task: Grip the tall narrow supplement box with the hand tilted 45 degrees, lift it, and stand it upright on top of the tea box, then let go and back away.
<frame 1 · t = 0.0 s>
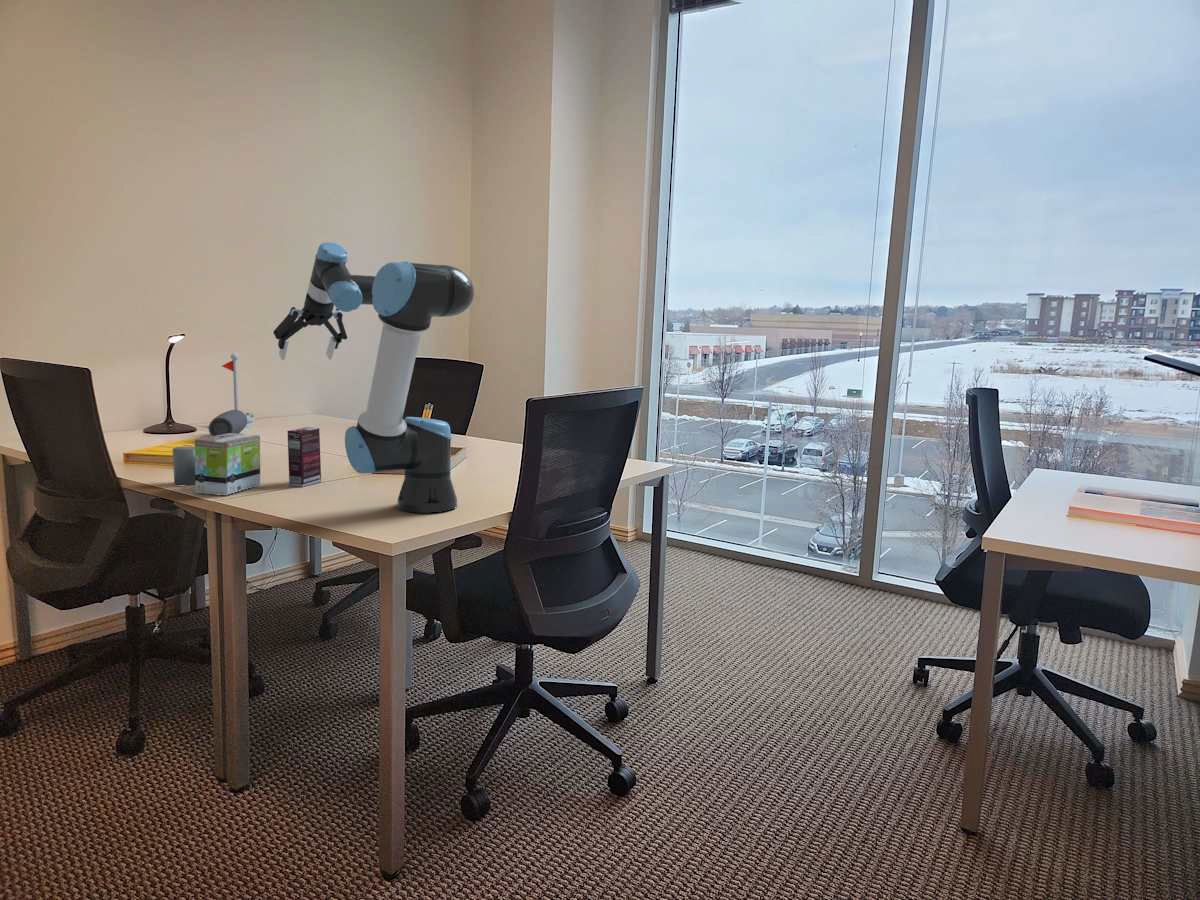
hand: (305, 356, 238), 36 cm above the table, tool tilted 35°, fingers open, 13 cm apart
tea box: (229, 490, 228), on the table
upright grey block: (188, 483, 233), on the table
bluetooth speaker: (229, 439, 310), on the table
flag stand: (237, 427, 338), on the table
supplement box: (305, 484, 238), on the table
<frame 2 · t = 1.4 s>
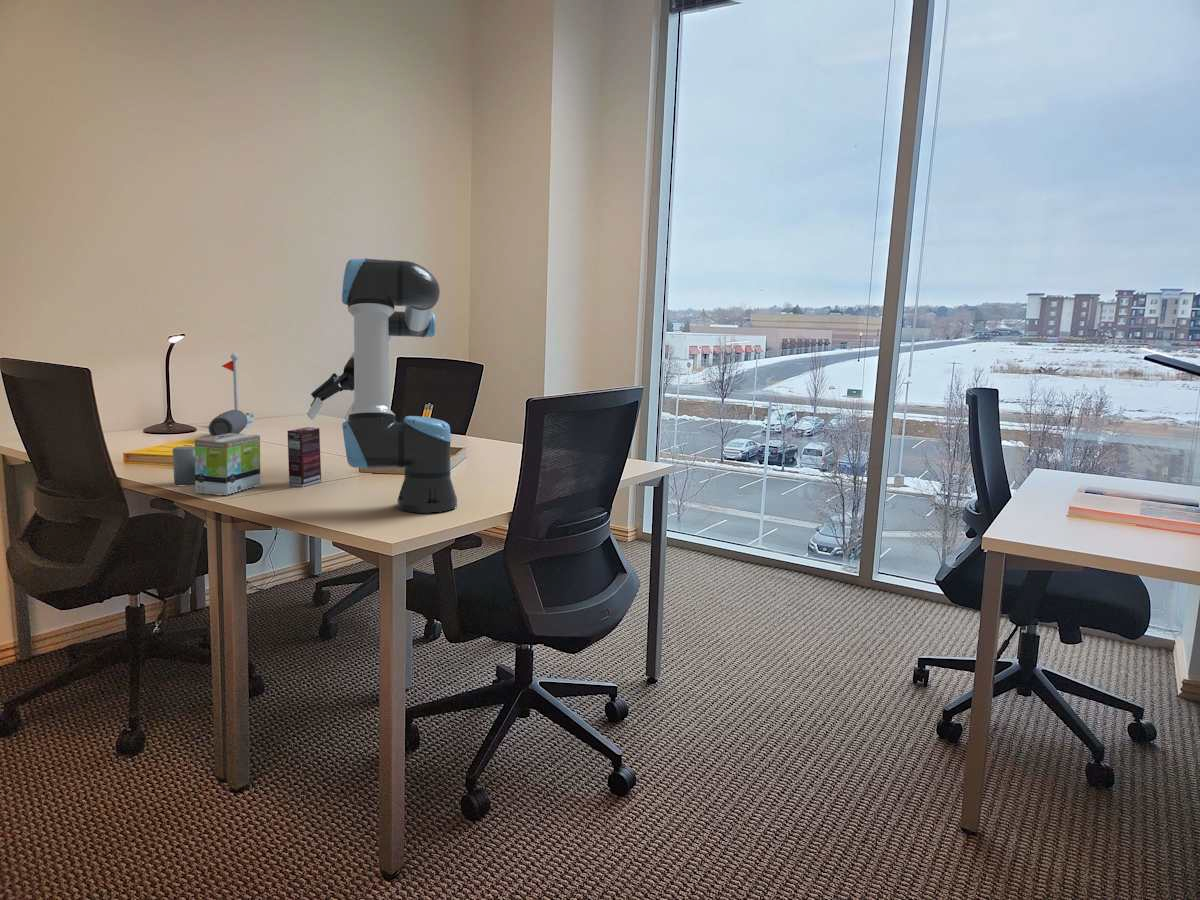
hand: (328, 419, 245), 18 cm above the table, tool tilted 45°, fingers open, 13 cm apart
nothing on the table moved.
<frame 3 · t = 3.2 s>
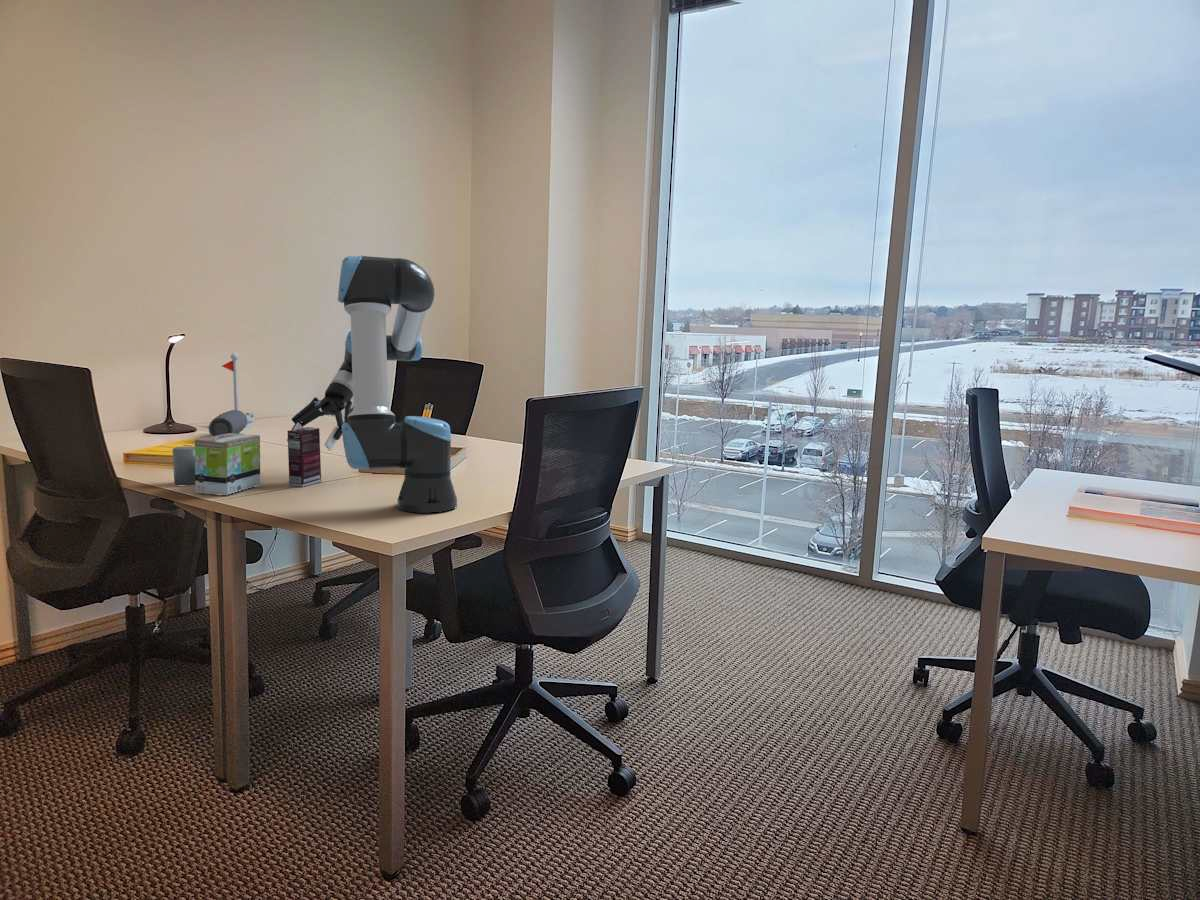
hand: (308, 445, 239), 11 cm above the table, tool tilted 45°, fingers open, 13 cm apart
nothing on the table moved.
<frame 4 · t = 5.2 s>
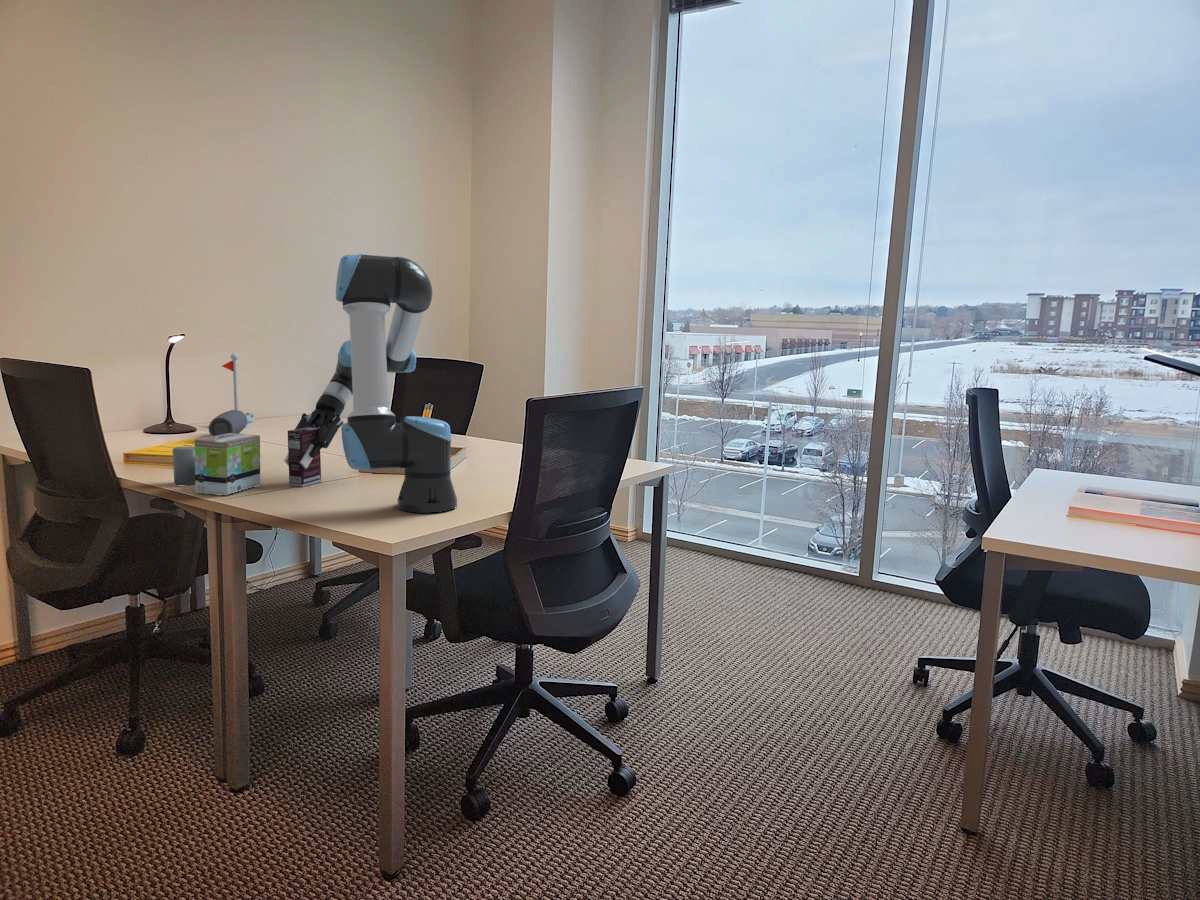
hand: (295, 464, 234), 6 cm above the table, tool tilted 45°, fingers closed on supplement box, 5 cm apart
supplement box: (305, 484, 238), on the table, touching gripper
everything else where it was.
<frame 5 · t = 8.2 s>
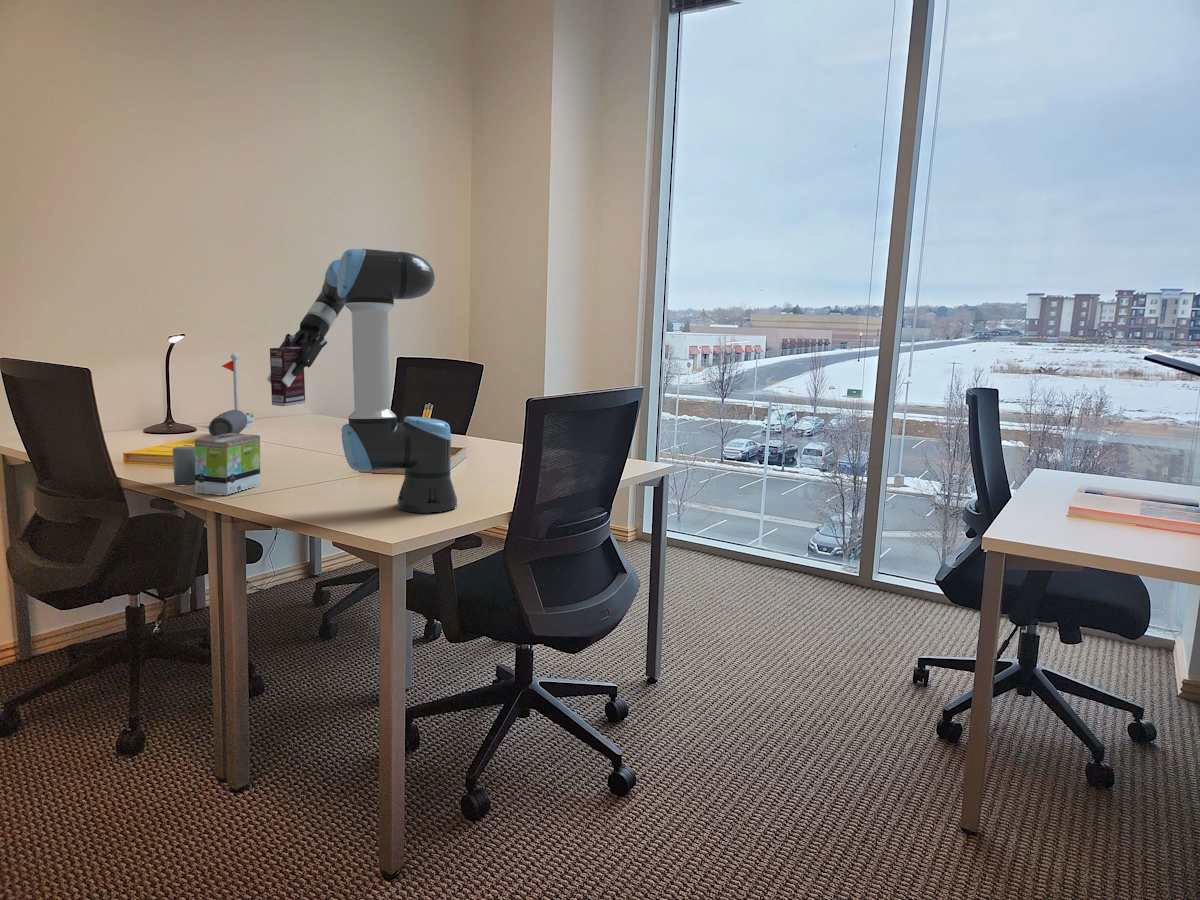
hand: (277, 382, 229), 29 cm above the table, tool tilted 45°, fingers closed on supplement box, 5 cm apart
supplement box: (288, 405, 234), point 23 cm above the table, touching gripper
everything else where it was.
when the fingers open (23 cm above the table, at t = 11.3 s): supplement box drops 2 cm, resting on tea box.
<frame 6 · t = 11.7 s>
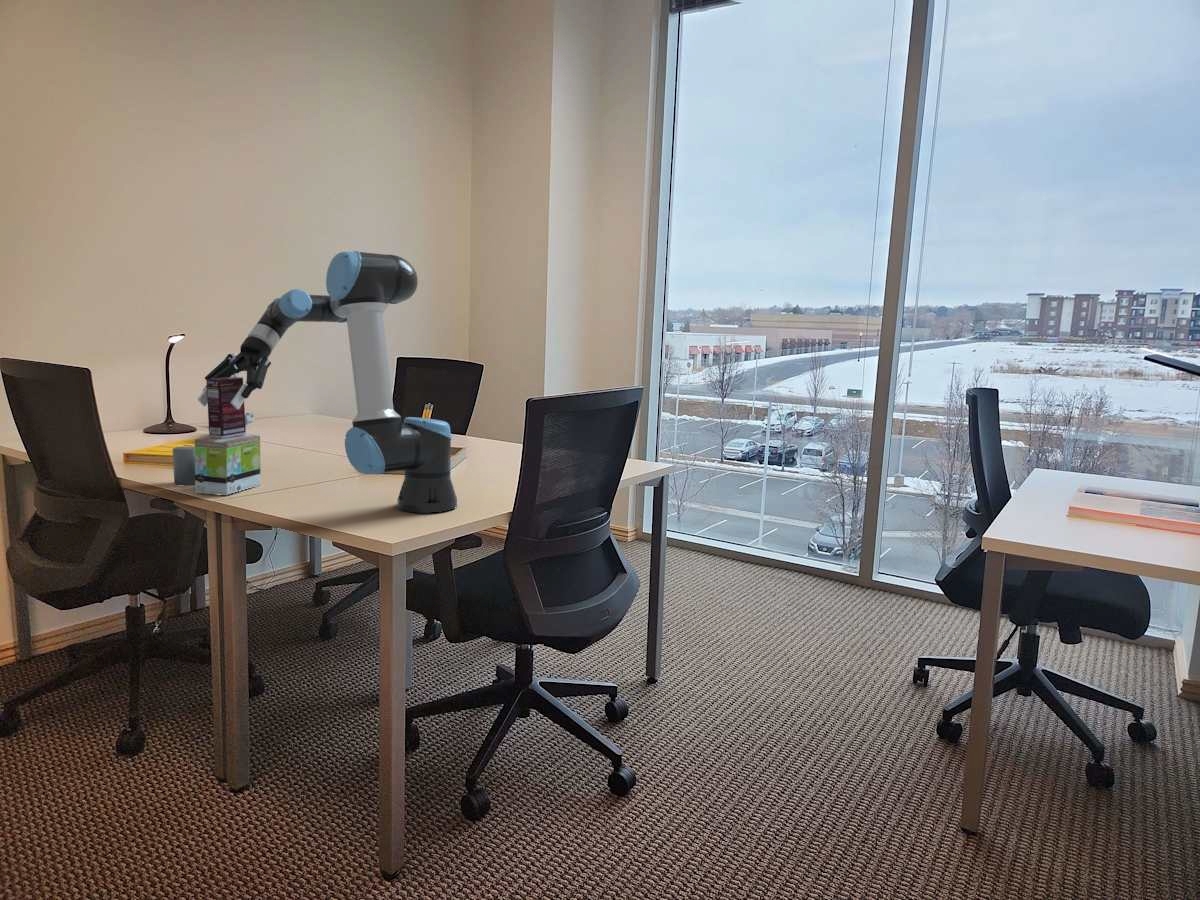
hand: (217, 404, 221), 24 cm above the table, tool tilted 45°, fingers open, 11 cm apart
tea box: (229, 490, 228), on the table, touching supplement box
supplement box: (227, 437, 225), point 14 cm above the table, touching tea box
everything else where it was.
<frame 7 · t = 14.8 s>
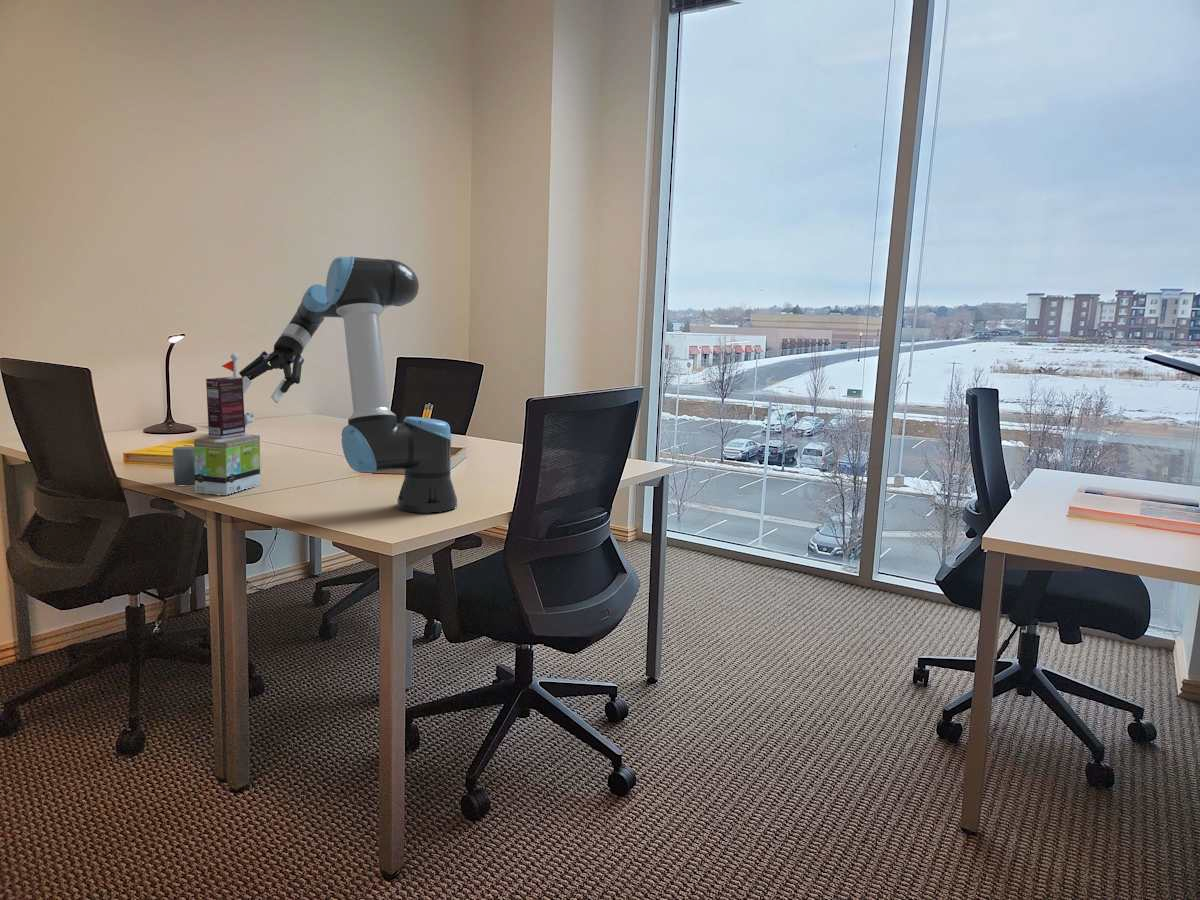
hand: (255, 398, 234), 24 cm above the table, tool tilted 45°, fingers open, 13 cm apart
nothing on the table moved.
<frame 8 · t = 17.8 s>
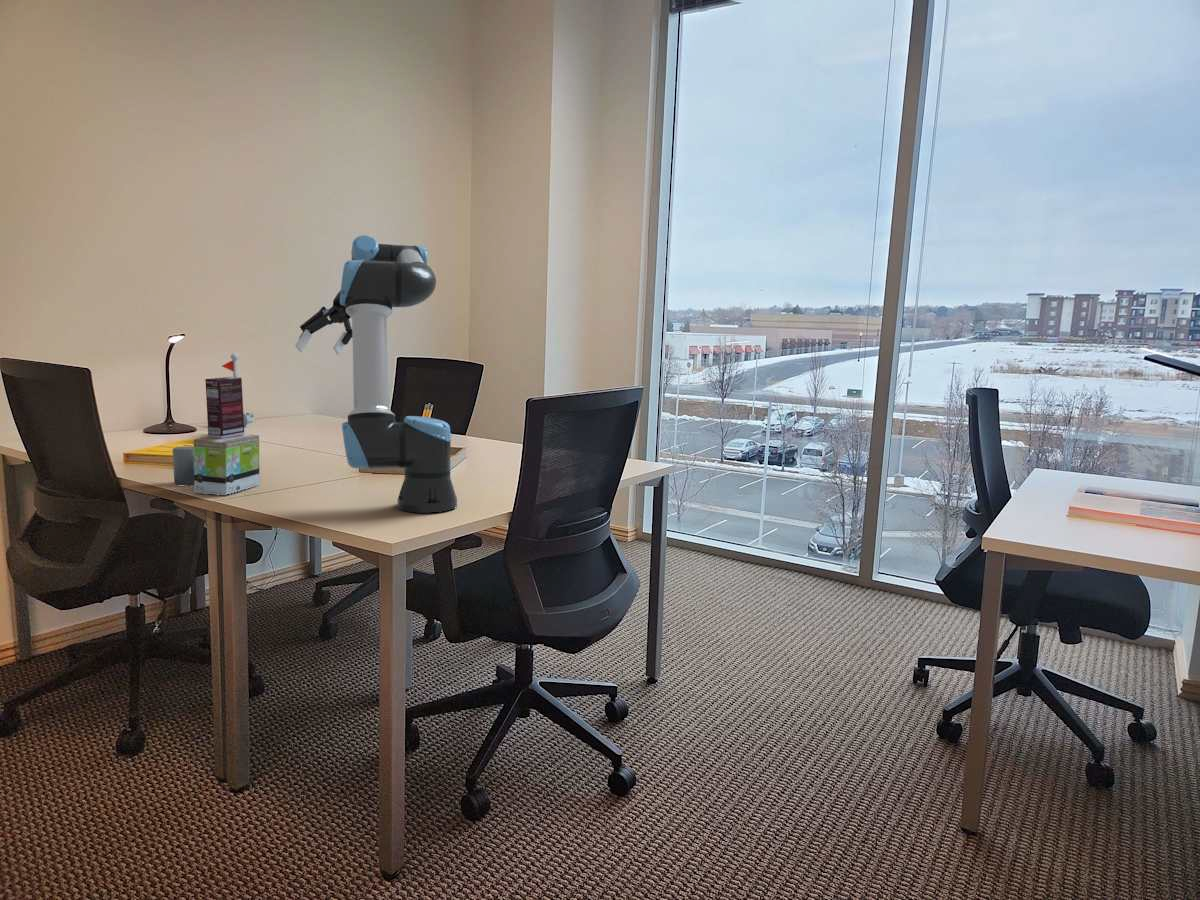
hand: (317, 350, 242), 38 cm above the table, tool tilted 45°, fingers open, 13 cm apart
nothing on the table moved.
at the end: supplement box inside the target area on the tea box (0.1 cm from its centre), point 14.8 cm above the tea box's base; supplement box tilted 0°; the gripper is holding nothing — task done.
